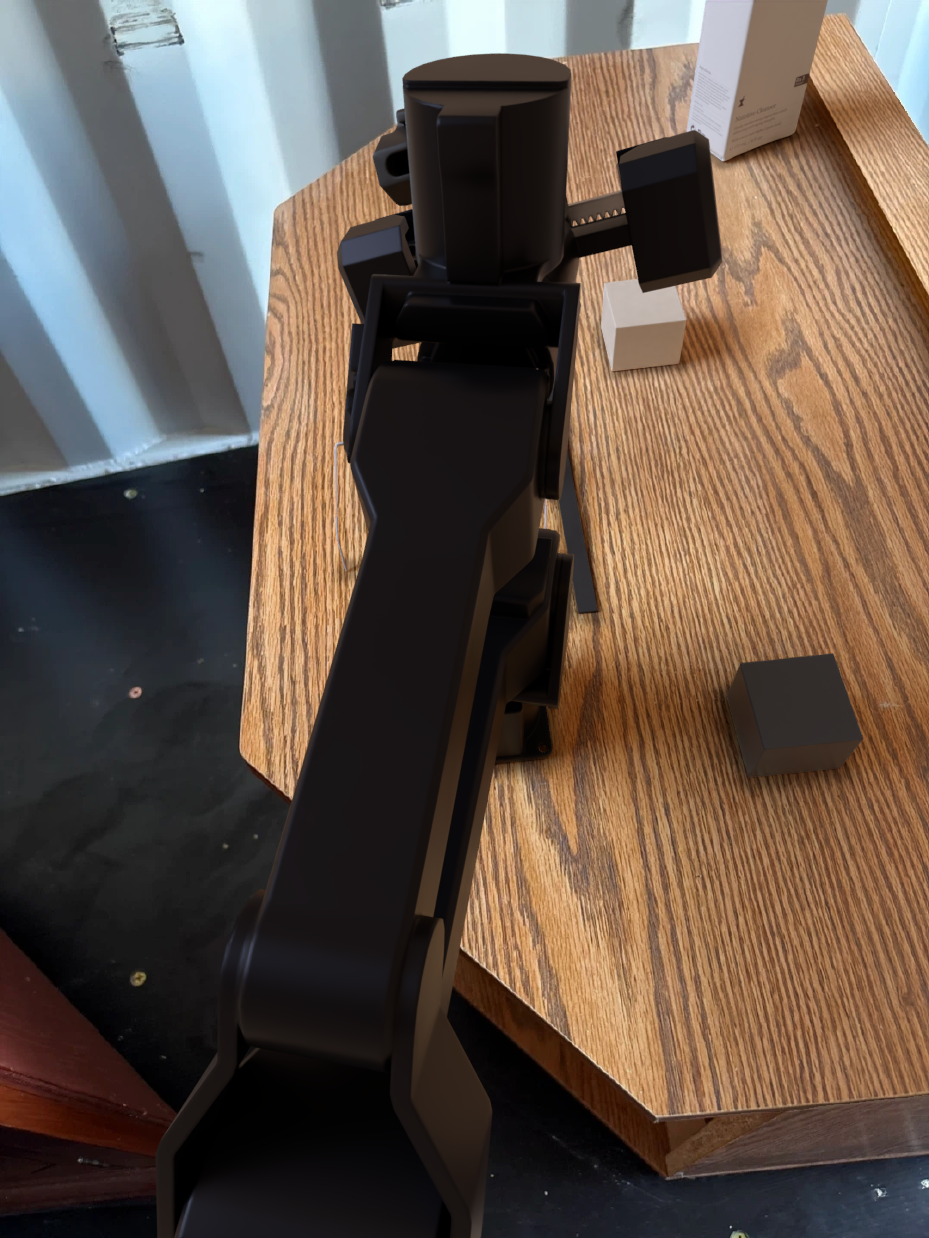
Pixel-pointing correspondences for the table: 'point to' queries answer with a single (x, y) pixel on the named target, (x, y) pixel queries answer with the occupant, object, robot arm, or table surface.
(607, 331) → the cream block
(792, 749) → the slate block
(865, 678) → the table surface
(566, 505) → the line tape
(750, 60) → the cosmetic box
